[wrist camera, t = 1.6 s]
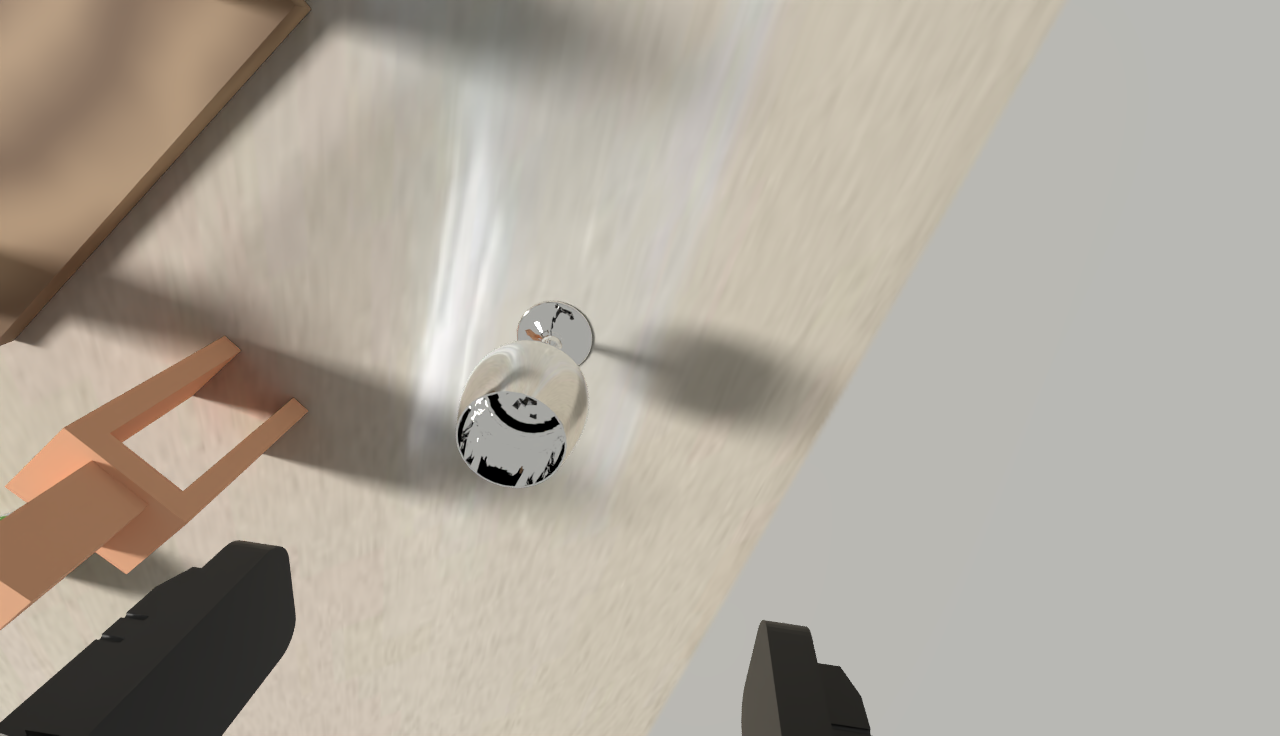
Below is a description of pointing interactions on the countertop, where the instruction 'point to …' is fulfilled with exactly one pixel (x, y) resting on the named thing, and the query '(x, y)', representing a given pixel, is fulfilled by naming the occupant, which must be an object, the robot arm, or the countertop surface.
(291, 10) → the hook stand
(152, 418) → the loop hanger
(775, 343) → the countertop surface
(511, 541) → the countertop surface
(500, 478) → the wineglass
